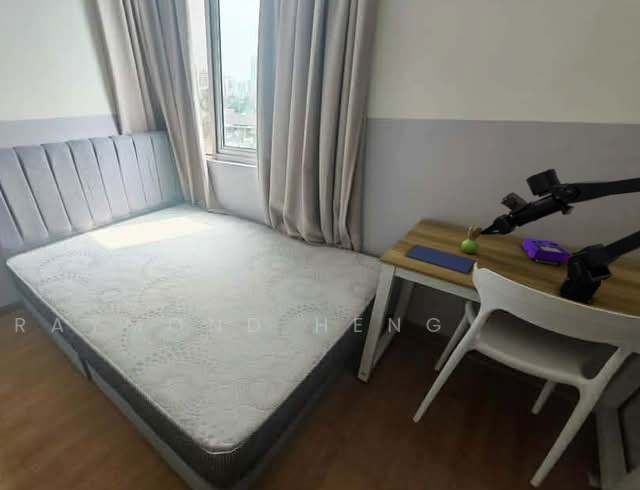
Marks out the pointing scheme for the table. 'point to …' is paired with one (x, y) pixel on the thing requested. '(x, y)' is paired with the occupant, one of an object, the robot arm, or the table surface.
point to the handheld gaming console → (545, 251)
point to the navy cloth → (441, 259)
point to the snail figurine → (471, 240)
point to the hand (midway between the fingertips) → (486, 230)
